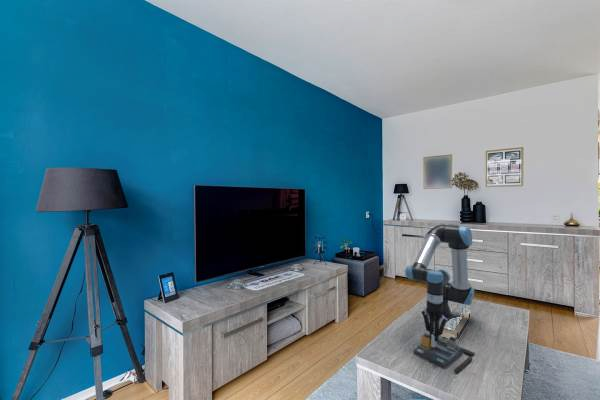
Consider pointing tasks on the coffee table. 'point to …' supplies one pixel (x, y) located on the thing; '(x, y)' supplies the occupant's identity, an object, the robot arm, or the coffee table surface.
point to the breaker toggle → (426, 341)
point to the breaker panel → (441, 352)
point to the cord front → (463, 350)
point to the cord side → (462, 364)
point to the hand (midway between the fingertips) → (433, 346)
